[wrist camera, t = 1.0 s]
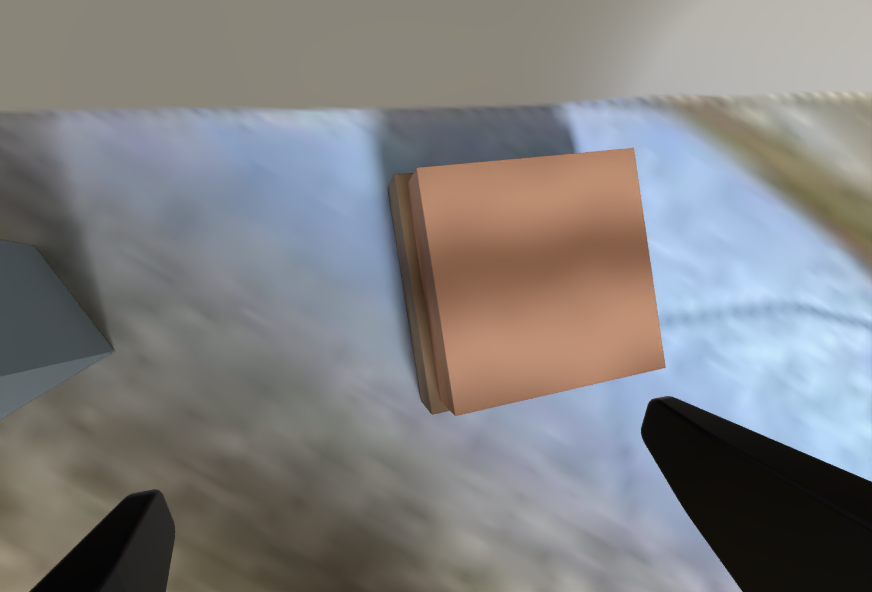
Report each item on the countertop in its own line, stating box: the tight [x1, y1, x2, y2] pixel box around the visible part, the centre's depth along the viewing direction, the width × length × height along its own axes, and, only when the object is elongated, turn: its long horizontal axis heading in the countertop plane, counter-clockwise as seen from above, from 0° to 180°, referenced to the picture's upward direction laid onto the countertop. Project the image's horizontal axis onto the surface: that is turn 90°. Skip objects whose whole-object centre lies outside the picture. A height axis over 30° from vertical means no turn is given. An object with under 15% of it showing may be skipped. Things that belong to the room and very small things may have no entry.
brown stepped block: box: [388, 148, 666, 416], centre depth 20 cm, size 11×11×5 cm
